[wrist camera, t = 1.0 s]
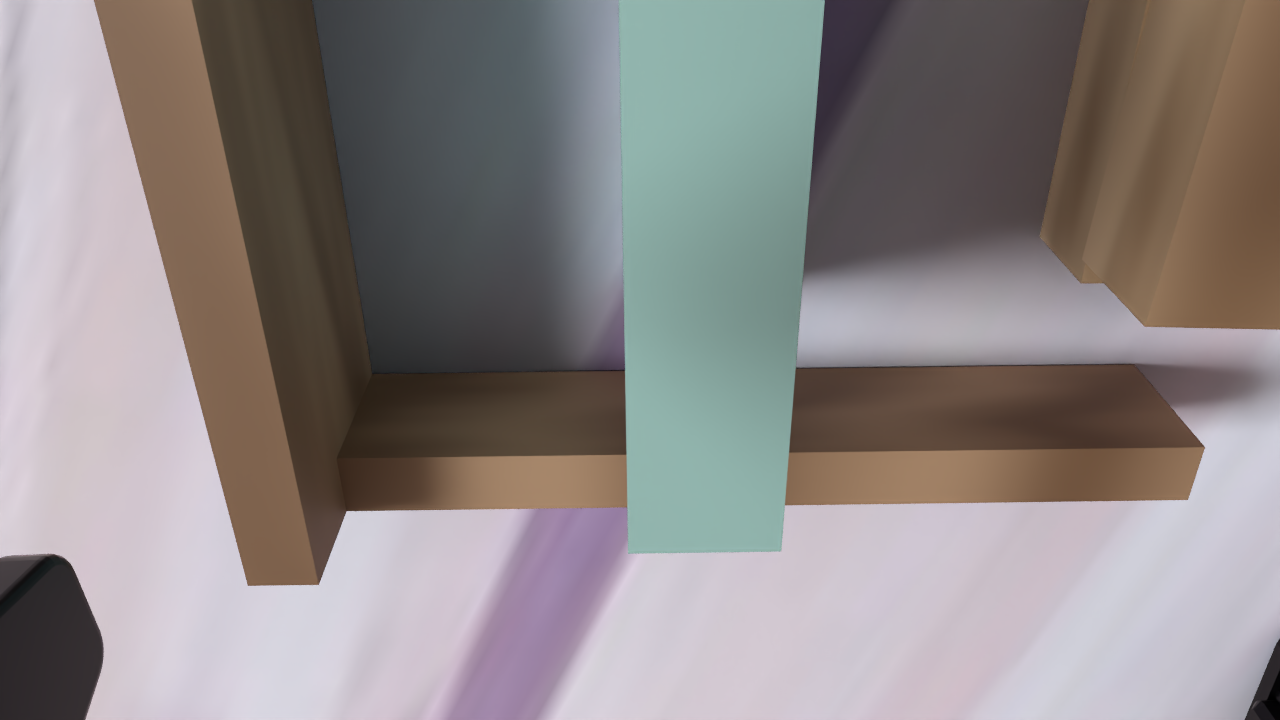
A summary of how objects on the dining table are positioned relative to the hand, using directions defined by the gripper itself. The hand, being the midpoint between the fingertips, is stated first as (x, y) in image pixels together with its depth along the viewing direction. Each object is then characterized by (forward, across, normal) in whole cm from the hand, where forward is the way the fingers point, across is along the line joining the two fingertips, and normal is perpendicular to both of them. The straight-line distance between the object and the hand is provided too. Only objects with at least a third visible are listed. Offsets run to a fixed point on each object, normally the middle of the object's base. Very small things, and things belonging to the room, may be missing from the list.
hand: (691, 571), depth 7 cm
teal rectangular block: (+13, 0, -1) cm, 13 cm away
